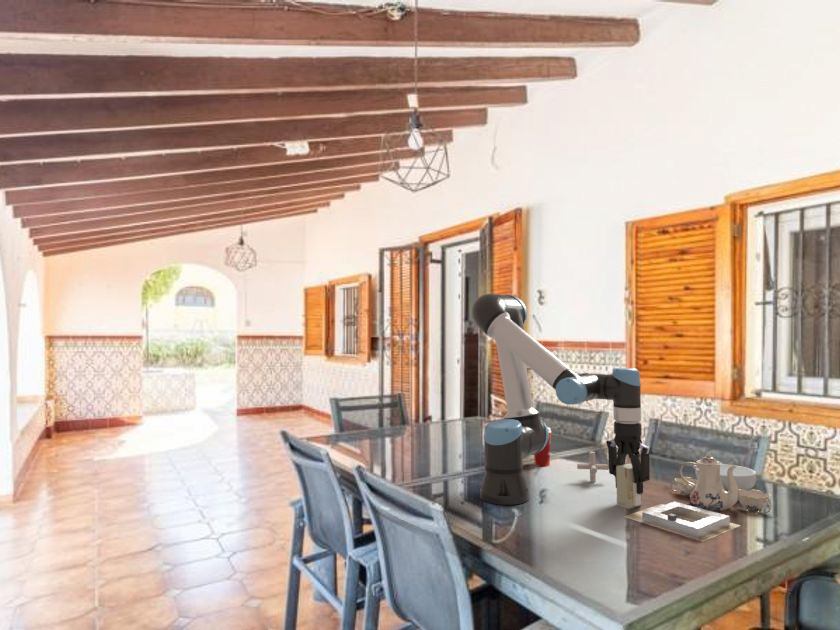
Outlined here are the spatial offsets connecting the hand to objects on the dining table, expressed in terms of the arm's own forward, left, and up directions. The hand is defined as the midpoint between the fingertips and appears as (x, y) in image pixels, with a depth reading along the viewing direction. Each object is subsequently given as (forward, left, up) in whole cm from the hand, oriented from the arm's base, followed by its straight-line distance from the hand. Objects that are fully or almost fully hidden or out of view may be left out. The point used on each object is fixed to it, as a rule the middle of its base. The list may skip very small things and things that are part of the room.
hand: (629, 502), depth 159 cm
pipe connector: (+14, +24, -2) cm, 28 cm away
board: (-1, -16, -2) cm, 16 cm away
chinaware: (+20, -14, -2) cm, 25 cm away
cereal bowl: (+38, -8, -2) cm, 39 cm away
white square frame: (-2, -18, -1) cm, 18 cm away
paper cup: (+18, +51, -2) cm, 54 cm away
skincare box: (0, 0, -2) cm, 2 cm away
